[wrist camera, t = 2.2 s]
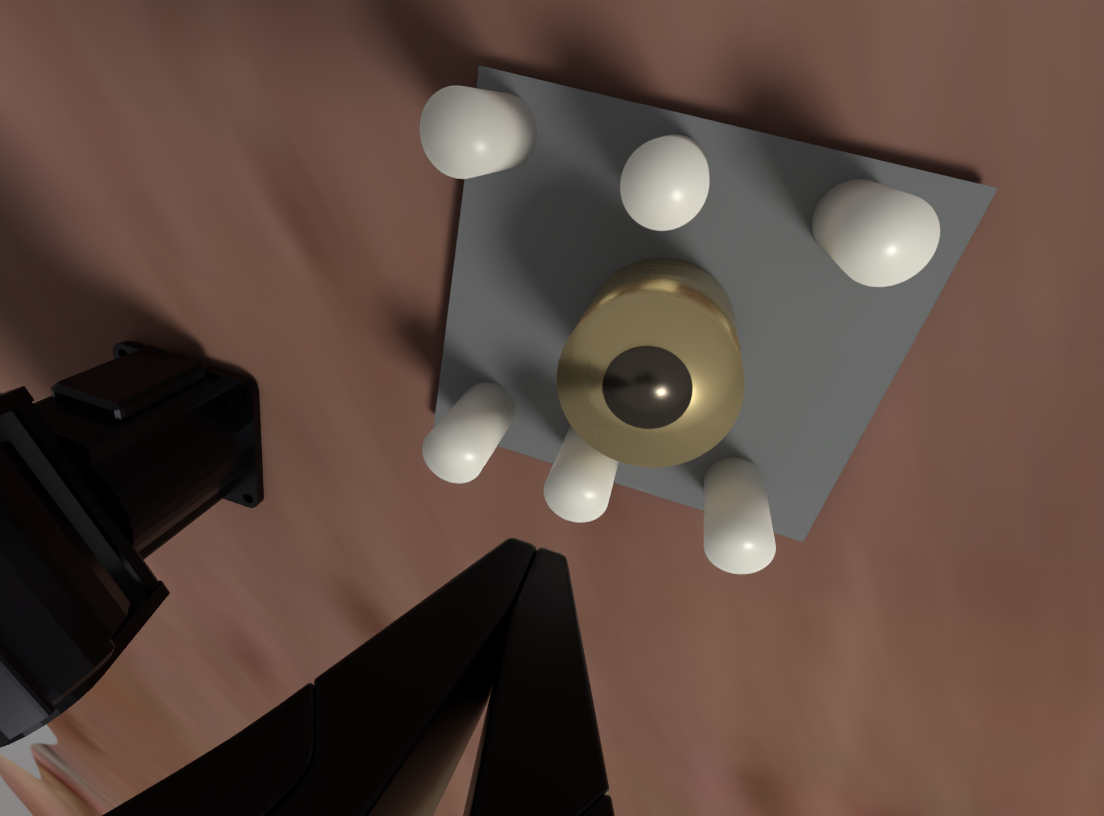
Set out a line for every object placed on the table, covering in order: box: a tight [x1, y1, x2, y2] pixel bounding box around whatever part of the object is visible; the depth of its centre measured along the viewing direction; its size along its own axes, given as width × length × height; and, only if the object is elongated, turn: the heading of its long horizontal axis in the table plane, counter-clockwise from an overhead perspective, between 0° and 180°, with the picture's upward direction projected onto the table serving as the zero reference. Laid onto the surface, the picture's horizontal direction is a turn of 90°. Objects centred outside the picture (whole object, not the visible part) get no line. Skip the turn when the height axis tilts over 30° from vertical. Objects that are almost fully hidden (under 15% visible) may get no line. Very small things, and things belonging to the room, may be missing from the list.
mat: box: [434, 66, 998, 542], centre depth 18 cm, size 12×14×1 cm
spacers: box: [420, 86, 940, 574], centre depth 17 cm, size 11×12×4 cm
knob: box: [557, 257, 745, 468], centre depth 16 cm, size 5×5×5 cm
